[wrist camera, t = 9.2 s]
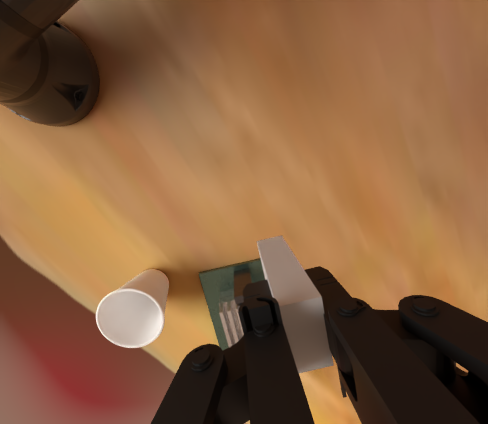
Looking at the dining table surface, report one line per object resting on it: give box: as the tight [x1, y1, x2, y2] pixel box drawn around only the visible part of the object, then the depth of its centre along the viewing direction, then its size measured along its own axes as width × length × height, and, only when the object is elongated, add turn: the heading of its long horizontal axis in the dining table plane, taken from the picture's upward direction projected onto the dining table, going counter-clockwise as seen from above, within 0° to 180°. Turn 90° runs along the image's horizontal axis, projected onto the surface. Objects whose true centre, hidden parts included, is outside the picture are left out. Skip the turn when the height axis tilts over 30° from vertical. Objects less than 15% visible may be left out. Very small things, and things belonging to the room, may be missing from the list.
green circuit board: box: [199, 258, 265, 351], centre depth 44 cm, size 20×16×10 cm
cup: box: [96, 269, 169, 348], centre depth 42 cm, size 10×10×11 cm
